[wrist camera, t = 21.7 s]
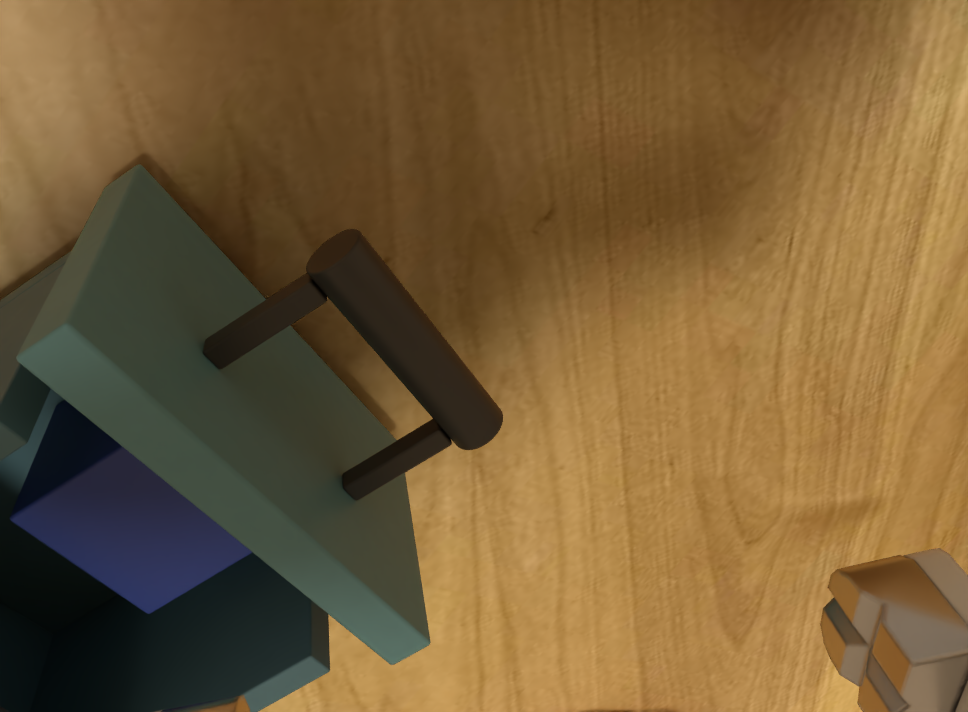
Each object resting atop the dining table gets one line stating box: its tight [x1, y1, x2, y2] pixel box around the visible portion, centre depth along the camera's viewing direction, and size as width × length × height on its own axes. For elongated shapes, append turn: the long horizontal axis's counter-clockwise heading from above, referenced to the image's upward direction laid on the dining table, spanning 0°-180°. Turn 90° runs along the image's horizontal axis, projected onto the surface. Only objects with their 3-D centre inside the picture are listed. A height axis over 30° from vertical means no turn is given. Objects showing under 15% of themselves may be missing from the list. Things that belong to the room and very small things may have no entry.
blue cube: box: [10, 400, 253, 614], centre depth 22 cm, size 4×4×4 cm
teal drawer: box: [0, 164, 503, 712], centre depth 21 cm, size 18×11×8 cm, turn 121°
